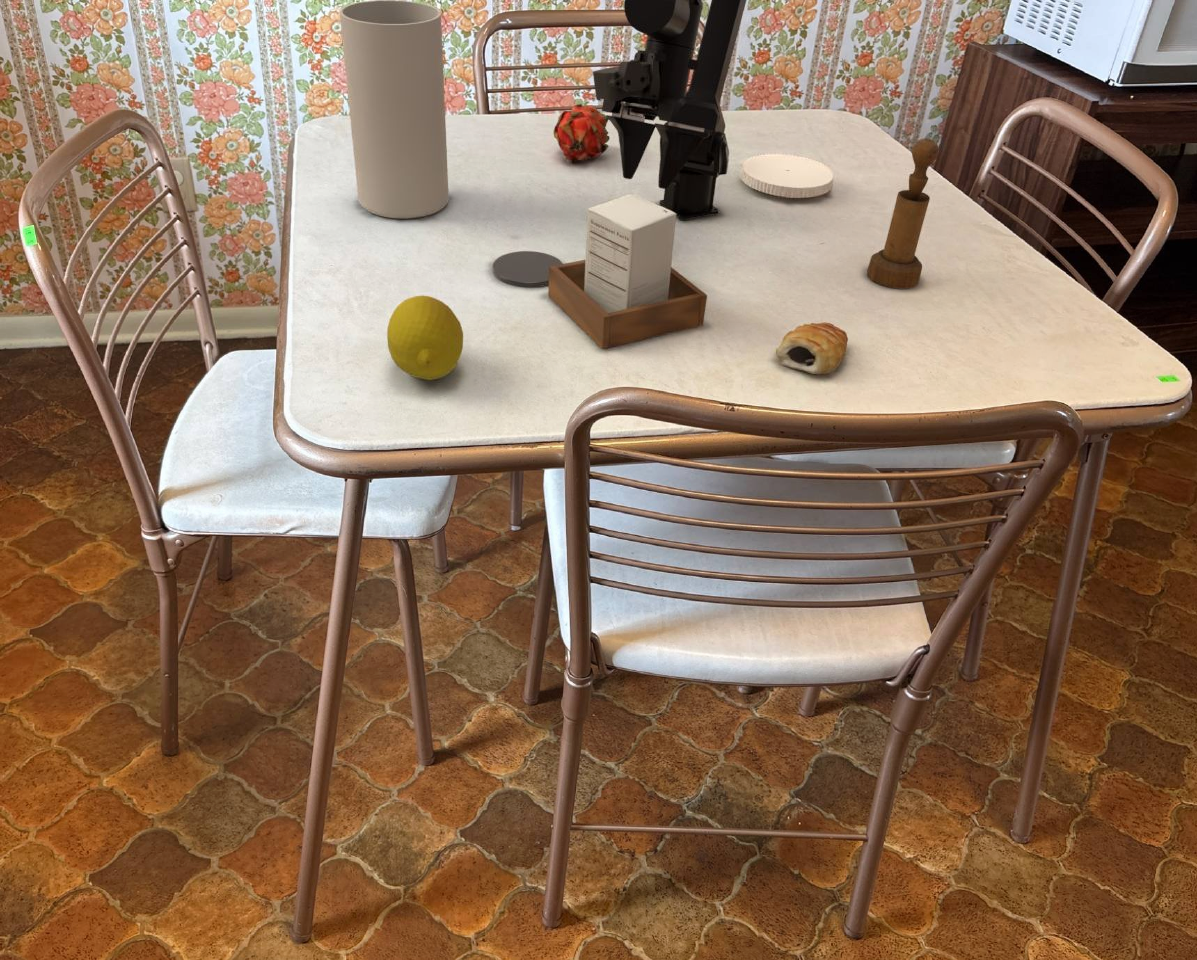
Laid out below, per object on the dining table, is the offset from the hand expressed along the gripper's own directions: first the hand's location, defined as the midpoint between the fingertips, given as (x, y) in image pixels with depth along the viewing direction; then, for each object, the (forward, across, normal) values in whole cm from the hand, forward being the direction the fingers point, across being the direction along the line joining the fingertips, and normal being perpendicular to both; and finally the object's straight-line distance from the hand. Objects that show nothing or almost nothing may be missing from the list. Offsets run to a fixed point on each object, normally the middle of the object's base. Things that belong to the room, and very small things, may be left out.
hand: (644, 183), depth 121 cm
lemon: (+22, +12, -28) cm, 37 cm away
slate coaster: (+13, -6, -11) cm, 18 cm away
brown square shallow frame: (+14, +7, -4) cm, 16 cm away
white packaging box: (+15, +7, -3) cm, 17 cm away
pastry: (+15, +24, +12) cm, 31 cm away
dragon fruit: (0, -40, +10) cm, 41 cm away
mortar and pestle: (+6, +11, +33) cm, 35 cm away
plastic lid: (-2, -20, +35) cm, 40 cm away
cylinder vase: (+10, -31, -20) cm, 38 cm away
